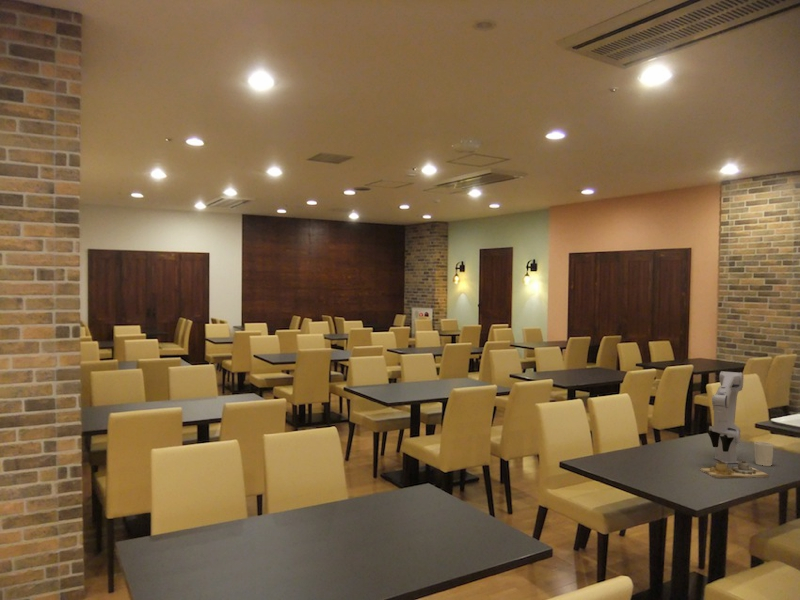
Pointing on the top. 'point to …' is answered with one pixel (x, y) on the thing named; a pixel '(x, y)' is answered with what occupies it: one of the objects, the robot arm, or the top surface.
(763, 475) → the gear board
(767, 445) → the white cup
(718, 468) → the brass gear
